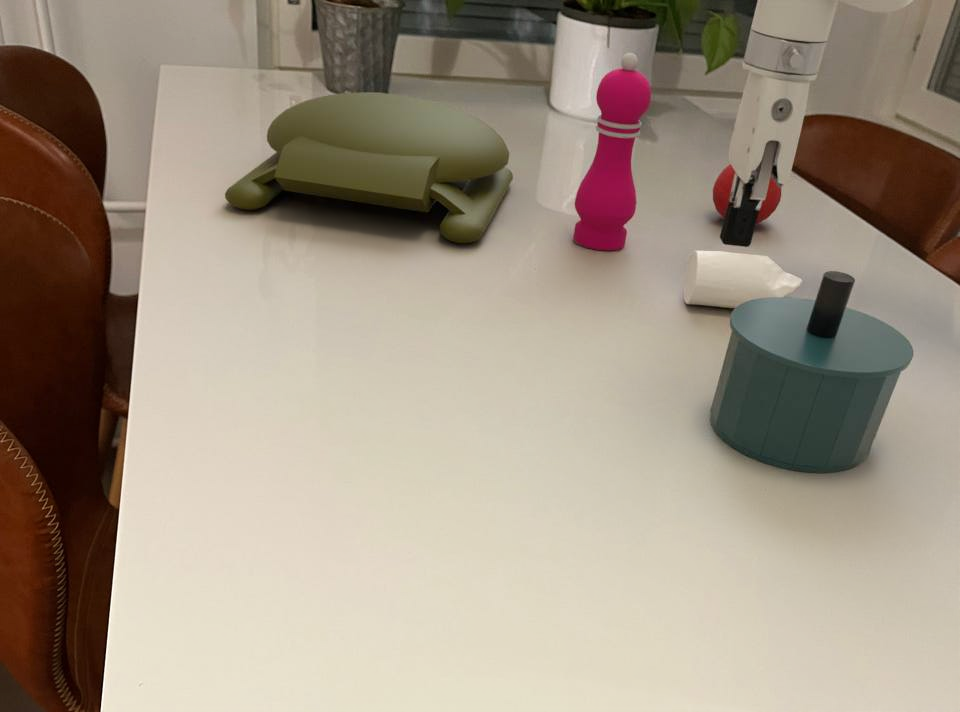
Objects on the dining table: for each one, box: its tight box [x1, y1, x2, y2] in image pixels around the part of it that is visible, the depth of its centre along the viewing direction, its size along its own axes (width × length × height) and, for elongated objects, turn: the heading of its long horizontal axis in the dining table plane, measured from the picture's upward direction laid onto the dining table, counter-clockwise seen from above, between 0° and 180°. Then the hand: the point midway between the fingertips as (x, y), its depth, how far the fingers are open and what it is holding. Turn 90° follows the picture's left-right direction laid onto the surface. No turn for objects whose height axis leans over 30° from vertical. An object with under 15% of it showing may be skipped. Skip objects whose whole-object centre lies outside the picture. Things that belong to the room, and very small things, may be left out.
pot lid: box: [729, 270, 914, 378], centre depth 78 cm, size 15×15×6 cm
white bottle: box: [683, 250, 804, 309], centre depth 105 cm, size 6×12×6 cm, turn 88°
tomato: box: [712, 163, 782, 225], centre depth 128 cm, size 9×9×8 cm
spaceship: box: [224, 91, 514, 244], centre depth 124 cm, size 35×31×10 cm
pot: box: [709, 330, 902, 474], centre depth 82 cm, size 14×14×8 cm
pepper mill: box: [573, 52, 652, 252], centre depth 112 cm, size 7×7×20 cm
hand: (734, 242), depth 110 cm, fingers closed
